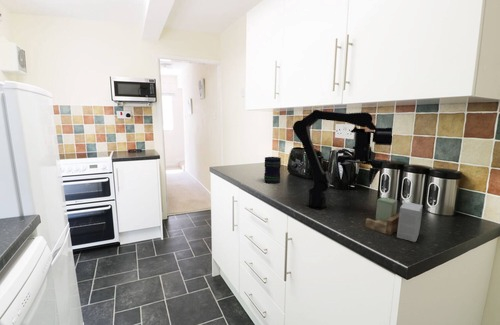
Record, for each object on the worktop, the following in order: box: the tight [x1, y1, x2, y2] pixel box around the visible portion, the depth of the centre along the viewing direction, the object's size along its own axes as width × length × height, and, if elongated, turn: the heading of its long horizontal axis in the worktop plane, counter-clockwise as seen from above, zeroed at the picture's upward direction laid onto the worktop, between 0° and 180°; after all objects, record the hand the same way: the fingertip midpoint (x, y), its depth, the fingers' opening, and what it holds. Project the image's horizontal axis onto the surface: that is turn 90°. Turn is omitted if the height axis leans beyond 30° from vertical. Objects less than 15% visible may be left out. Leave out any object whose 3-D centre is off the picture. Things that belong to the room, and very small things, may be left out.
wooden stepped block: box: [365, 212, 399, 236], centre depth 94 cm, size 8×12×5 cm
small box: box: [396, 201, 423, 243], centre depth 86 cm, size 8×6×10 cm
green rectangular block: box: [375, 196, 398, 222], centre depth 94 cm, size 5×5×10 cm
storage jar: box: [263, 156, 282, 185], centre depth 158 cm, size 10×10×15 cm
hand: (359, 182), depth 106 cm, fingers open, 9 cm apart
